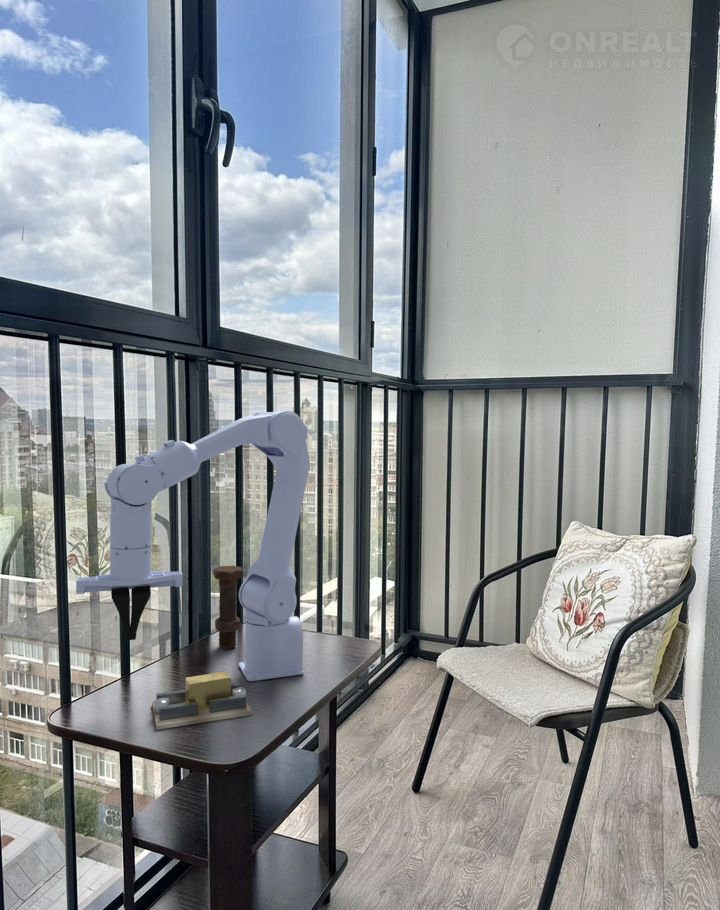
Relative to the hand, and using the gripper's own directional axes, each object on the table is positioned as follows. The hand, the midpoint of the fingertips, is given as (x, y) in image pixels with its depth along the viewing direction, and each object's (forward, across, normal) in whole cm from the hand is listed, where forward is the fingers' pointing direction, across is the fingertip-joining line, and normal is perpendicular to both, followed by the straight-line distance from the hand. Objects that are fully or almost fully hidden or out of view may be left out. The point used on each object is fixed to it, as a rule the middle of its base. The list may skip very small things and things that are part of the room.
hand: (130, 638), depth 91 cm
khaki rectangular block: (+9, -10, +5) cm, 15 cm away
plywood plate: (+10, -10, +6) cm, 15 cm away
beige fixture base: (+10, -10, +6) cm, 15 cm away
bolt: (+10, -18, -20) cm, 29 cm away
